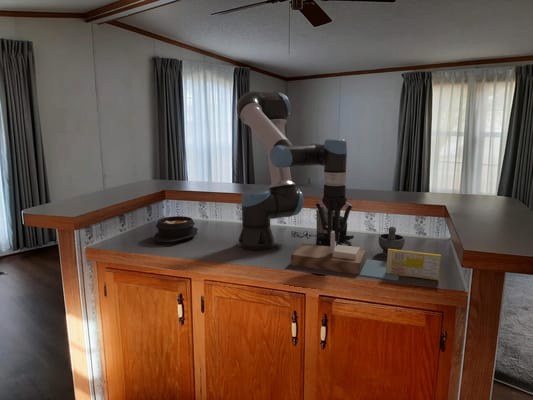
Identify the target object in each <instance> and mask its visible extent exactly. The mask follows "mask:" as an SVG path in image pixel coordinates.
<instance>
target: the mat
mask: <svg viewBox="0 0 533 400" xmlns="http://www.w3.org/2000/svg"><path fill="white" fill-rule="evenodd" d="M386 266H387V261H385V260H377V259H368V258H367V259H365V263H364V265H363V268H362V270H361V272H360V274H359V276H360V277H365V278H366V277H368V278H374V279H380V280H381V279H382V280H388V281H394V282H395V281H396V282H398V281H399V279H400V278H399V277H400V275H396V274H388V273H386Z"/></svg>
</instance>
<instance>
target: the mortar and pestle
mask: <svg viewBox="0 0 533 400" xmlns="http://www.w3.org/2000/svg"><path fill="white" fill-rule="evenodd" d="M387 231H388V233H382V234H379V235H378V244H379V247H380V249H382V255H384V256H385V257H387V254H388V249H396V250H403V248H404V245H405V239H406V238H405V236H403V235H401V234H396V232H397V228H396V227H394V226H389V227H388V230H387Z"/></svg>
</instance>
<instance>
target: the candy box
mask: <svg viewBox="0 0 533 400" xmlns="http://www.w3.org/2000/svg"><path fill="white" fill-rule="evenodd" d="M441 261H442V255H441V254H437V253H428V252H421V251H420V252H419V251H414V250H413V251H412V250H405V249H404V250H403V249H401V250H396V249H388V254H387V256H386V262H387V266H386V273H388V274H396V275H399V276H403V277H411V278H416V279H417V278H419V279H425V280H433V281H439V280H440V272H441Z"/></svg>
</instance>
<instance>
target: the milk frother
mask: <svg viewBox="0 0 533 400" xmlns="http://www.w3.org/2000/svg"><path fill="white" fill-rule="evenodd" d="M315 212H316V239H315V245H320V246H329V247H330V242H331V241H328V232H327V231H326V230H323V228H322V223H321V219H320V214H319V210H318V209H316V210H315ZM324 213H325V217H326V222H327V226H328V209H327V208H324ZM343 217H344V216H342V215H340V228H341V224H342V221H343ZM347 230H348V222H347V223H346V226H345V229H344V231H342V232H339V241H336V247H337V245H343V244H345V243H346V242H347V241H351V240H353V239H354V238H355V236H354V235H348V234H347V232H348V231H347ZM332 231H335V211H334V210H333V230H332Z"/></svg>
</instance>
